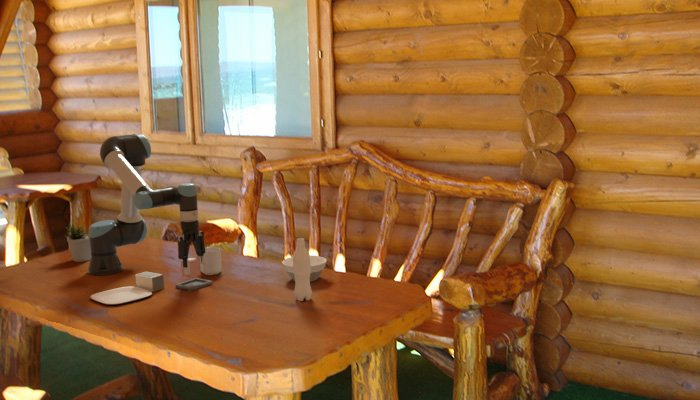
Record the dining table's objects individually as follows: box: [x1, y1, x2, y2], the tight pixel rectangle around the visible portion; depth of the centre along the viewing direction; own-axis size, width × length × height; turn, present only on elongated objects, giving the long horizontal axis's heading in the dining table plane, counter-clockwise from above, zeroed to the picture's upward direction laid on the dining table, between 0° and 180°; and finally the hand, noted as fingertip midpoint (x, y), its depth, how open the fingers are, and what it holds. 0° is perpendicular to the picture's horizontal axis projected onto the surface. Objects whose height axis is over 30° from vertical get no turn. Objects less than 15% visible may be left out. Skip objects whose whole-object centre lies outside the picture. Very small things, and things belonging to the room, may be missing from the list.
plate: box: [90, 285, 153, 306], centre depth 341 cm, size 22×22×2 cm
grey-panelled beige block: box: [135, 271, 165, 293], centre depth 353 cm, size 11×6×6 cm, turn 53°
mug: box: [201, 246, 222, 276], centre depth 376 cm, size 12×9×11 cm
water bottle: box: [292, 237, 313, 302], centre depth 327 cm, size 7×7×25 cm
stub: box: [180, 257, 201, 279], centre depth 354 cm, size 5×6×7 cm
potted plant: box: [64, 222, 91, 263], centre depth 407 cm, size 13×14×20 cm
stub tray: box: [175, 277, 213, 292], centre depth 354 cm, size 10×12×2 cm
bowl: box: [281, 255, 328, 283], centre depth 359 cm, size 20×19×8 cm
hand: (193, 272), depth 353 cm, fingers closed on stub, 6 cm apart
